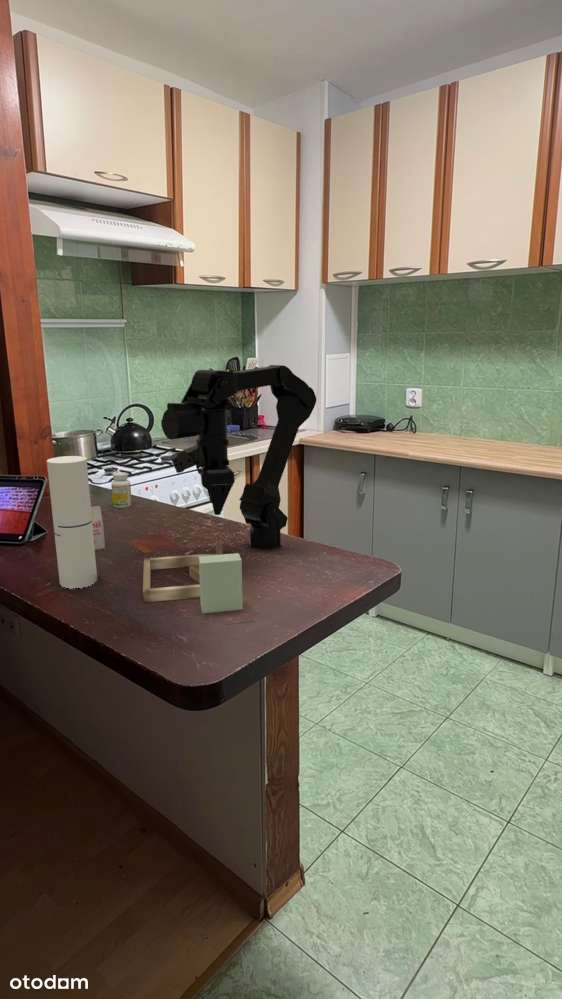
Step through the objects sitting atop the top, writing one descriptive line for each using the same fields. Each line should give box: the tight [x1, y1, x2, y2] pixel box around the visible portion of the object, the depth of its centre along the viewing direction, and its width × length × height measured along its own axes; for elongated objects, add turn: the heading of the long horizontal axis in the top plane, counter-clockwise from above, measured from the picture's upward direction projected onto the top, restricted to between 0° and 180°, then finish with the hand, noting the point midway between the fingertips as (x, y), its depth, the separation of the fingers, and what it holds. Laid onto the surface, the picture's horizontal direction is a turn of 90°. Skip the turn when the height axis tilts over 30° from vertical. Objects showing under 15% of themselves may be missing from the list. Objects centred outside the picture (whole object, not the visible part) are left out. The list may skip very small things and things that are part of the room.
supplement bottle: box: [111, 471, 132, 509], centre depth 175 cm, size 5×5×10 cm
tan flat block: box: [188, 565, 200, 584], centre depth 119 cm, size 5×6×2 cm
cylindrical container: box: [46, 455, 98, 590], centre depth 118 cm, size 7×7×25 cm
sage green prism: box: [199, 552, 244, 614], centre depth 105 cm, size 7×4×10 cm, turn 102°
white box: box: [91, 505, 106, 551], centre depth 139 cm, size 4×7×10 cm, turn 118°
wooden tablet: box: [131, 532, 186, 554], centre depth 139 cm, size 27×10×2 cm, turn 31°
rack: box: [142, 541, 223, 603], centre depth 117 cm, size 16×17×6 cm
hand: (215, 508), depth 125 cm, fingers open, 9 cm apart
